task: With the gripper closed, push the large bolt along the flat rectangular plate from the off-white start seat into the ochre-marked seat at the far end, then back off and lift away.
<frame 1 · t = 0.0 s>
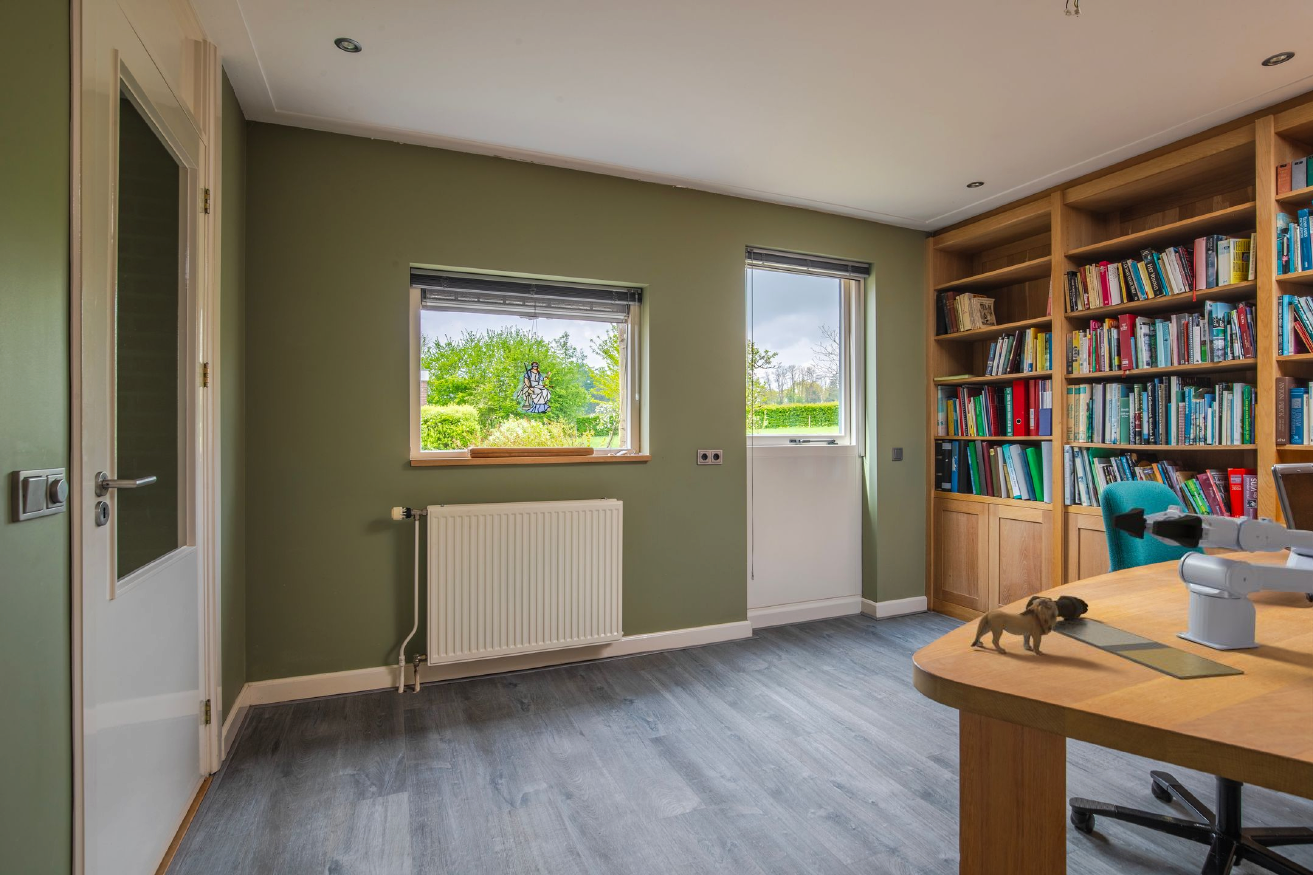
hand: (1132, 524, 113), 22 cm above the table, tool horizontal, fingers open, 7 cm apart
lion figurine: (1014, 650, 112), on the table
flat rectangular plate: (1128, 645, 115), on the table
bolt: (1061, 621, 129), on the table, touching flat rectangular plate
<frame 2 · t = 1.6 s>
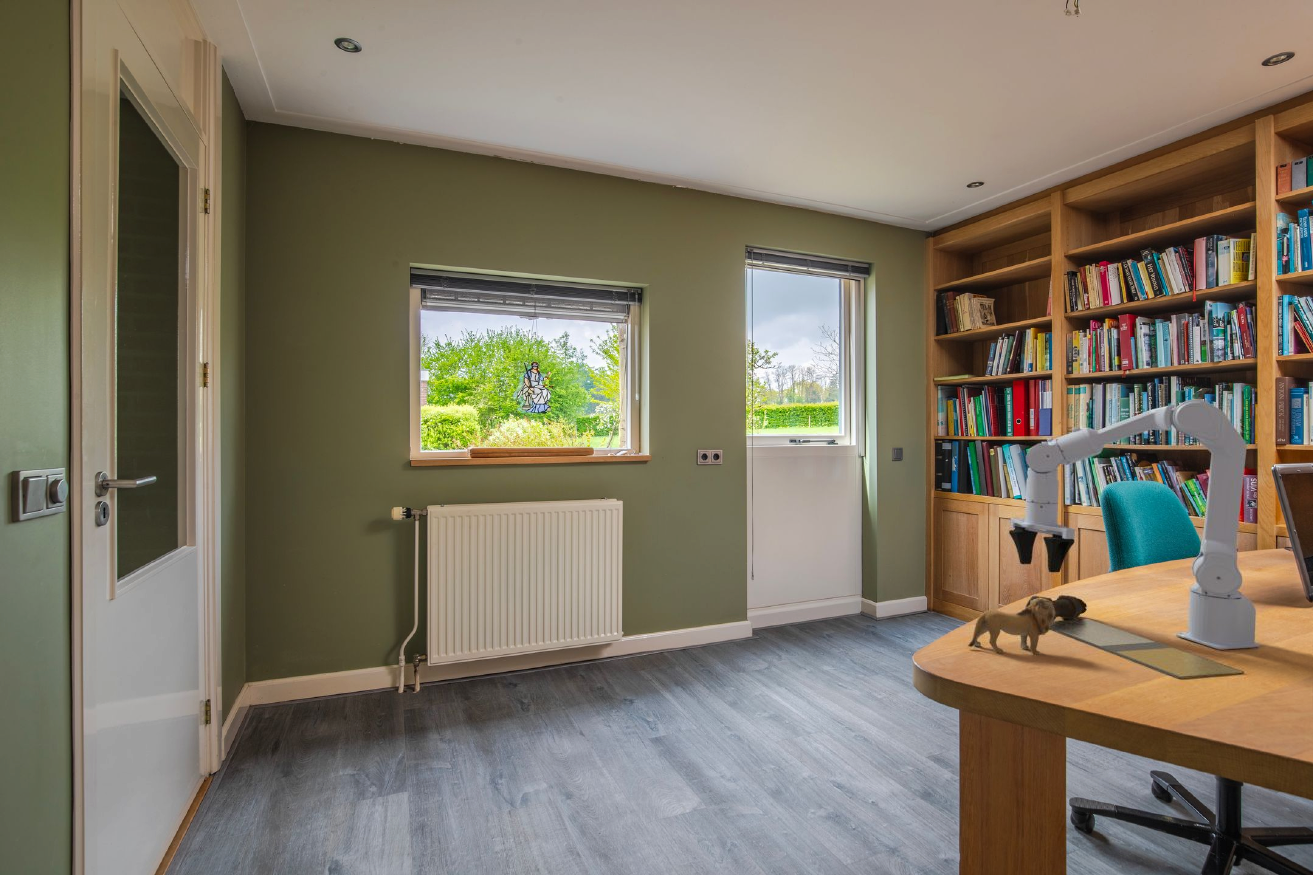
hand: (1039, 567, 134), 9 cm above the table, tool pointing down, fingers open, 7 cm apart
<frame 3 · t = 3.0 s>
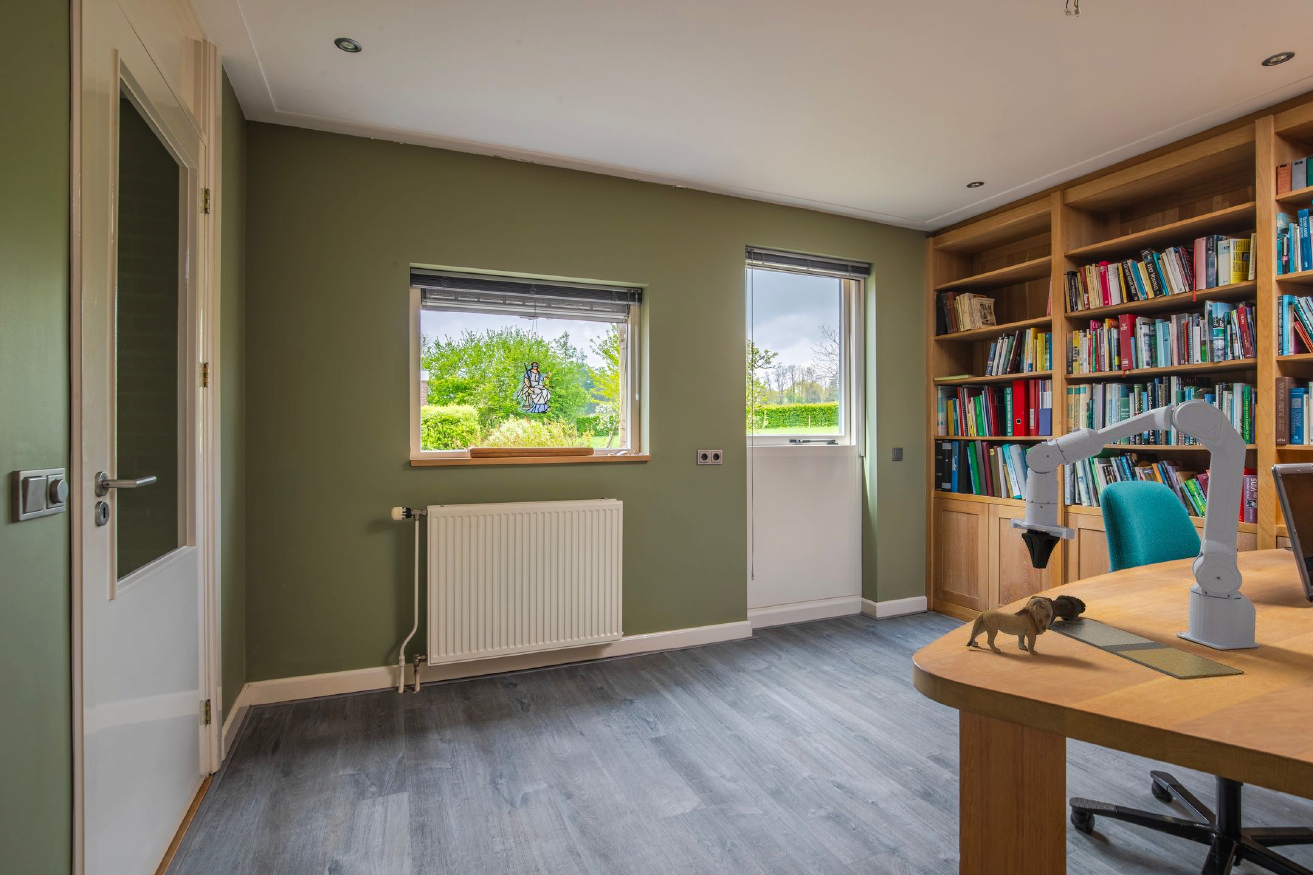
hand: (1039, 567, 134), 9 cm above the table, tool pointing down, fingers closed
bolt: (1060, 621, 129), on the table, touching flat rectangular plate
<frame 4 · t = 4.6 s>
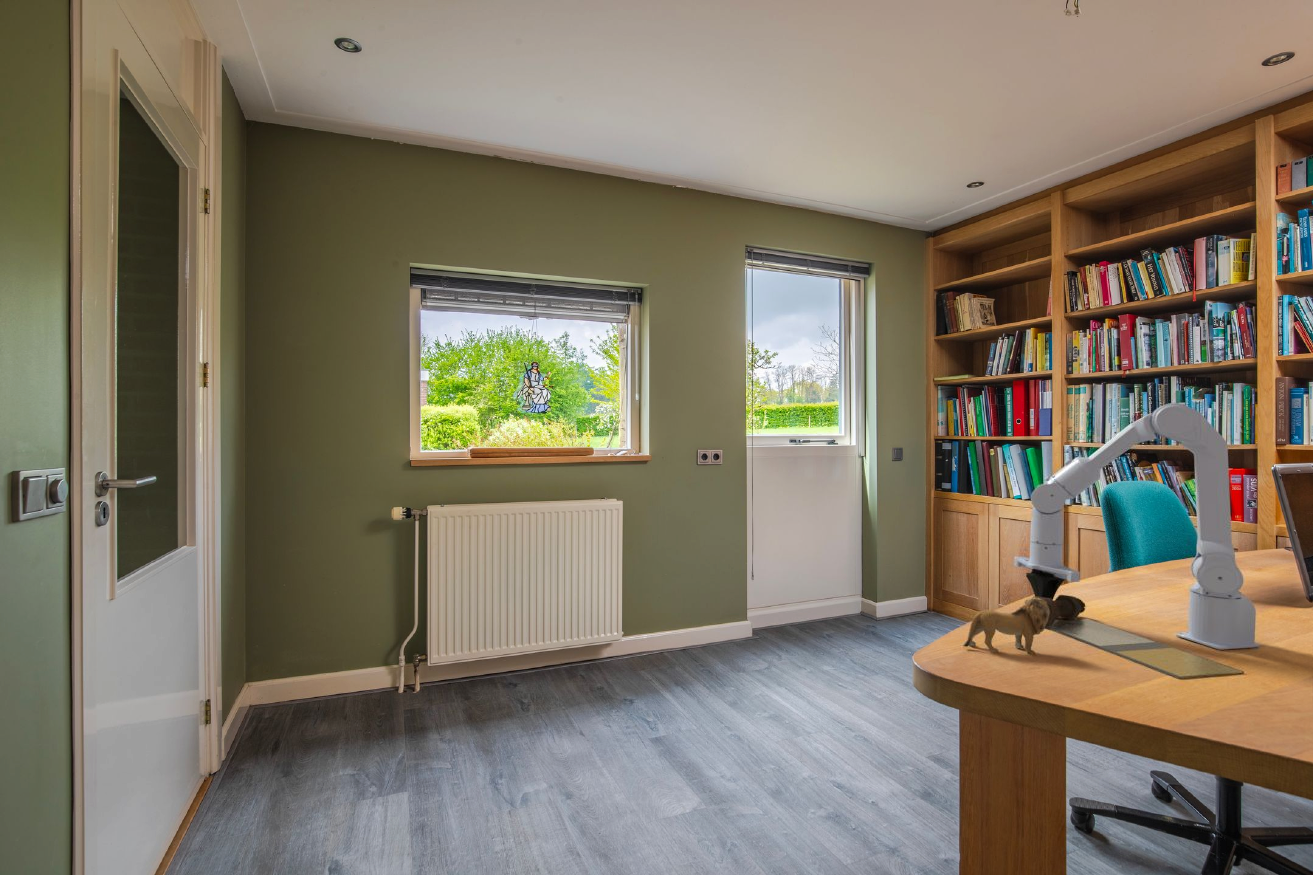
hand: (1043, 608, 133), 1 cm above the table, tool pointing down, fingers closed
bolt: (1060, 620, 129), on the table, touching gripper, flat rectangular plate
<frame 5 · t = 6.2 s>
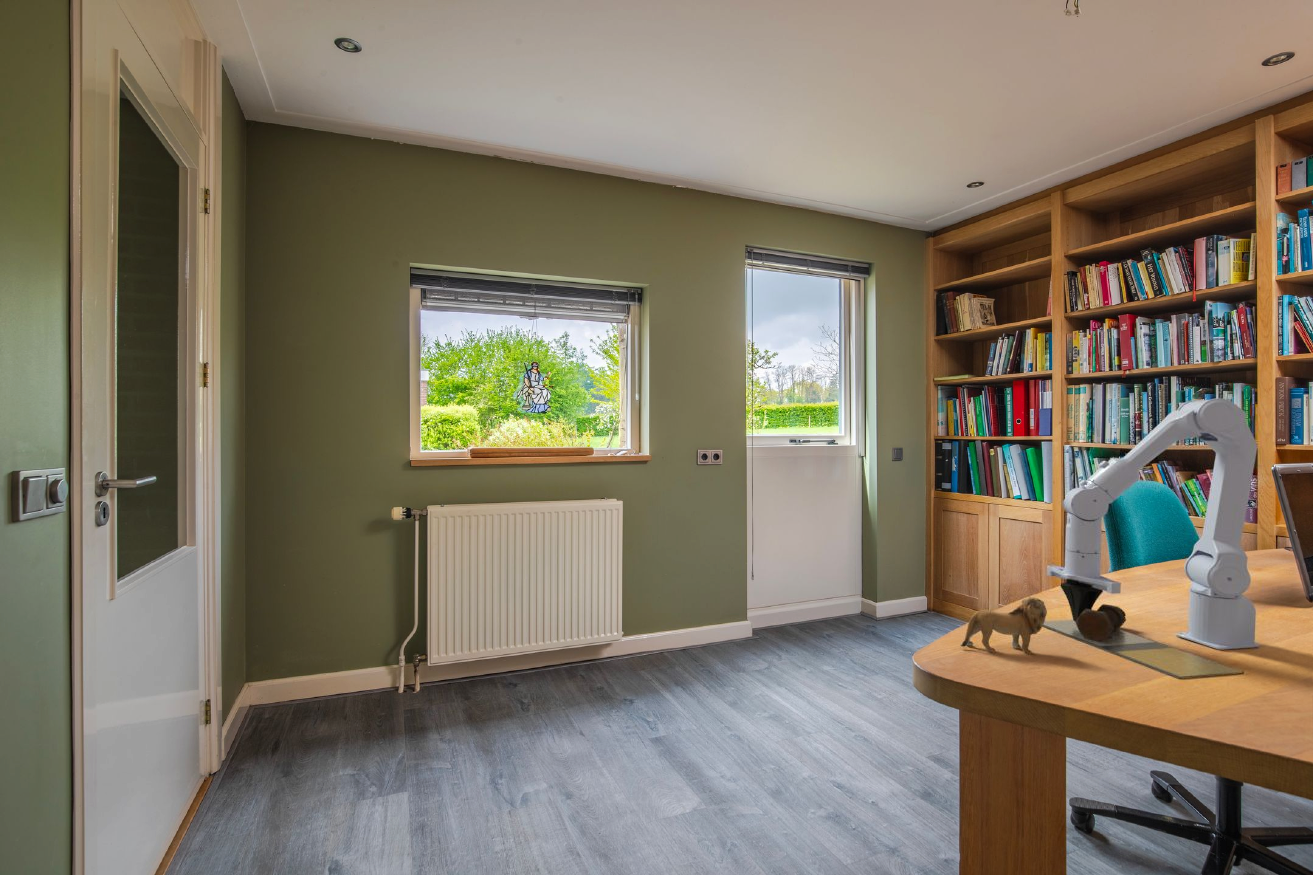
hand: (1080, 621, 125), 1 cm above the table, tool pointing down, fingers closed
bolt: (1105, 633, 122), resting on flat rectangular plate, touching gripper
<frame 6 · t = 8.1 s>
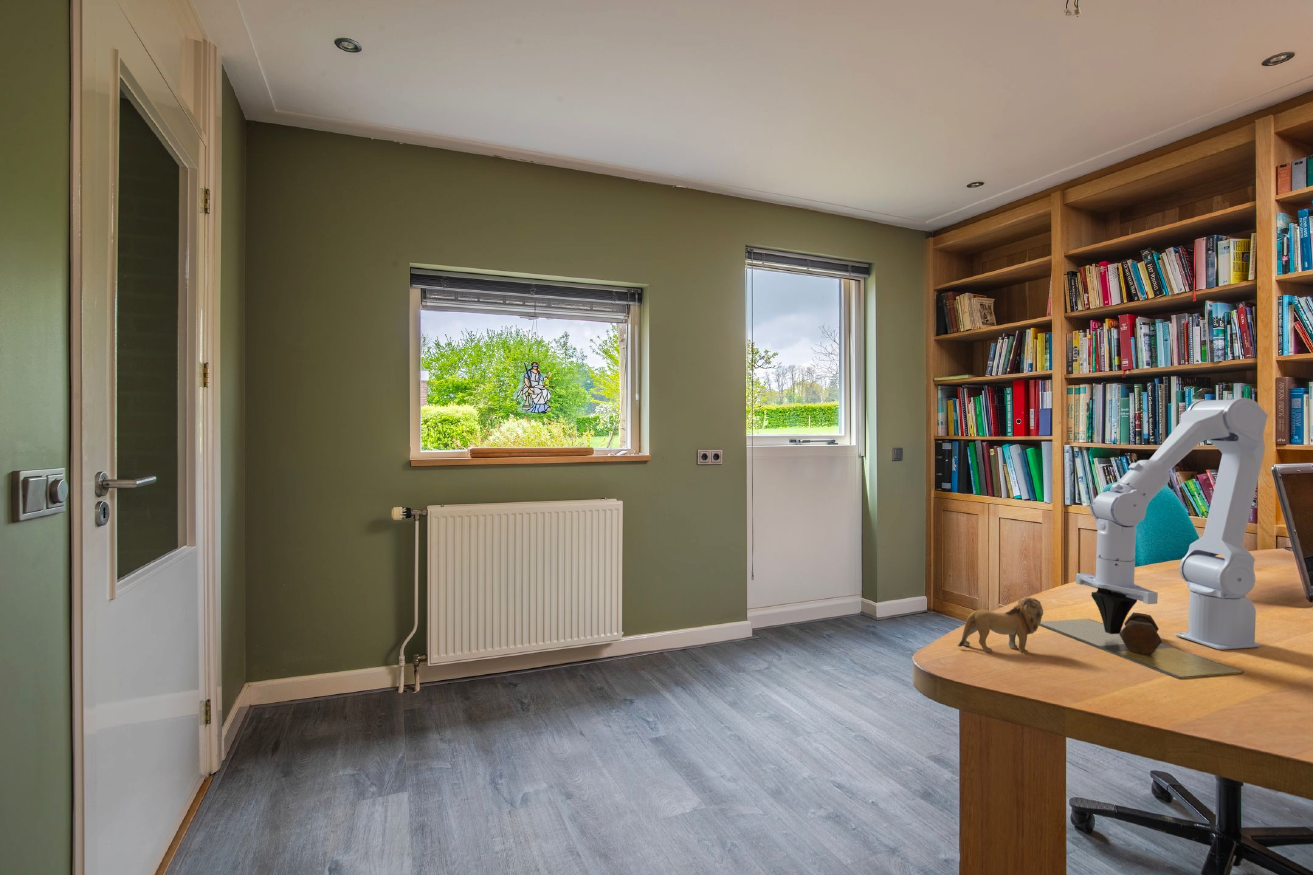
hand: (1112, 632, 118), 1 cm above the table, tool pointing down, fingers closed
bolt: (1141, 643, 116), resting on flat rectangular plate, touching gripper
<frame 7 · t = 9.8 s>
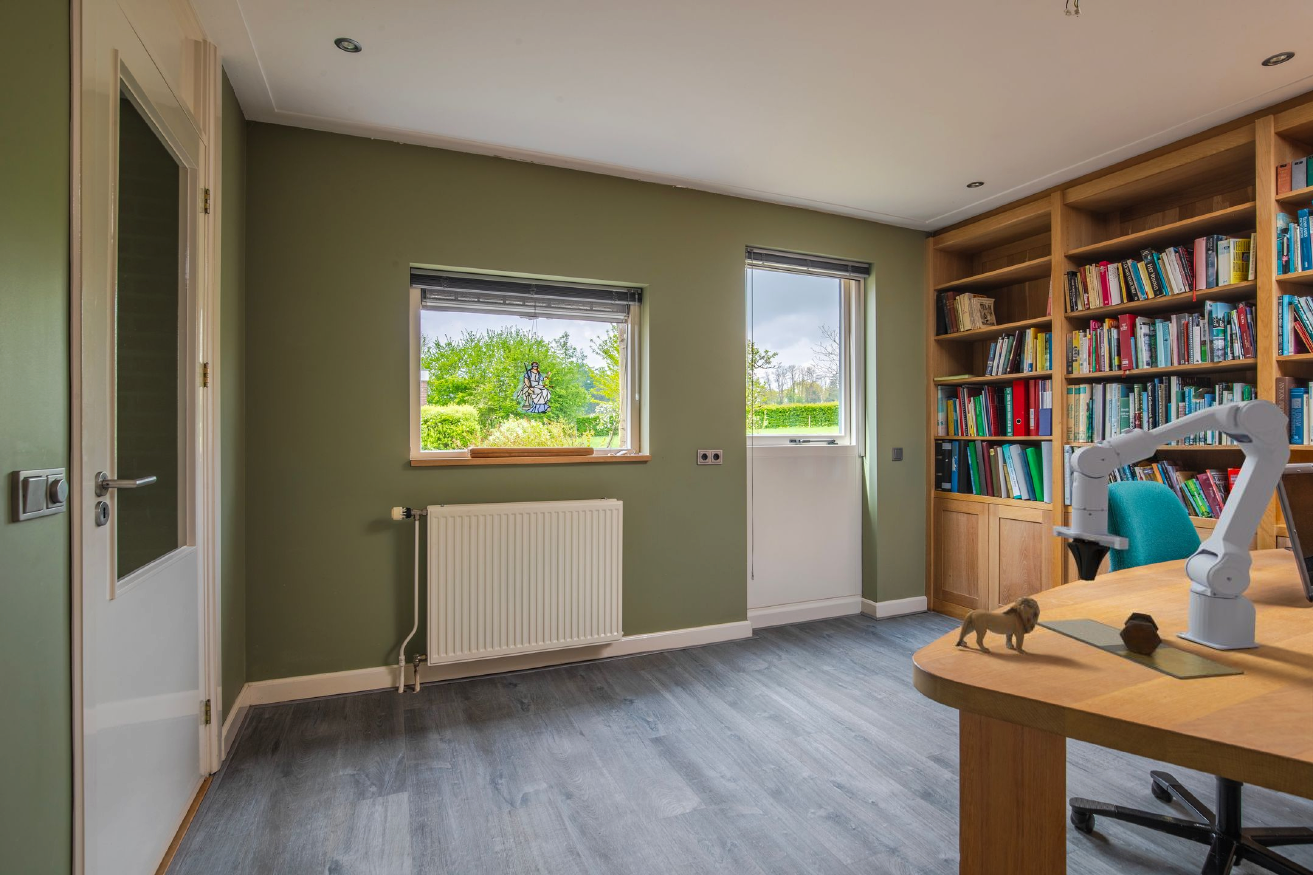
hand: (1087, 579, 124), 9 cm above the table, tool pointing down, fingers closed
bolt: (1141, 643, 116), resting on flat rectangular plate
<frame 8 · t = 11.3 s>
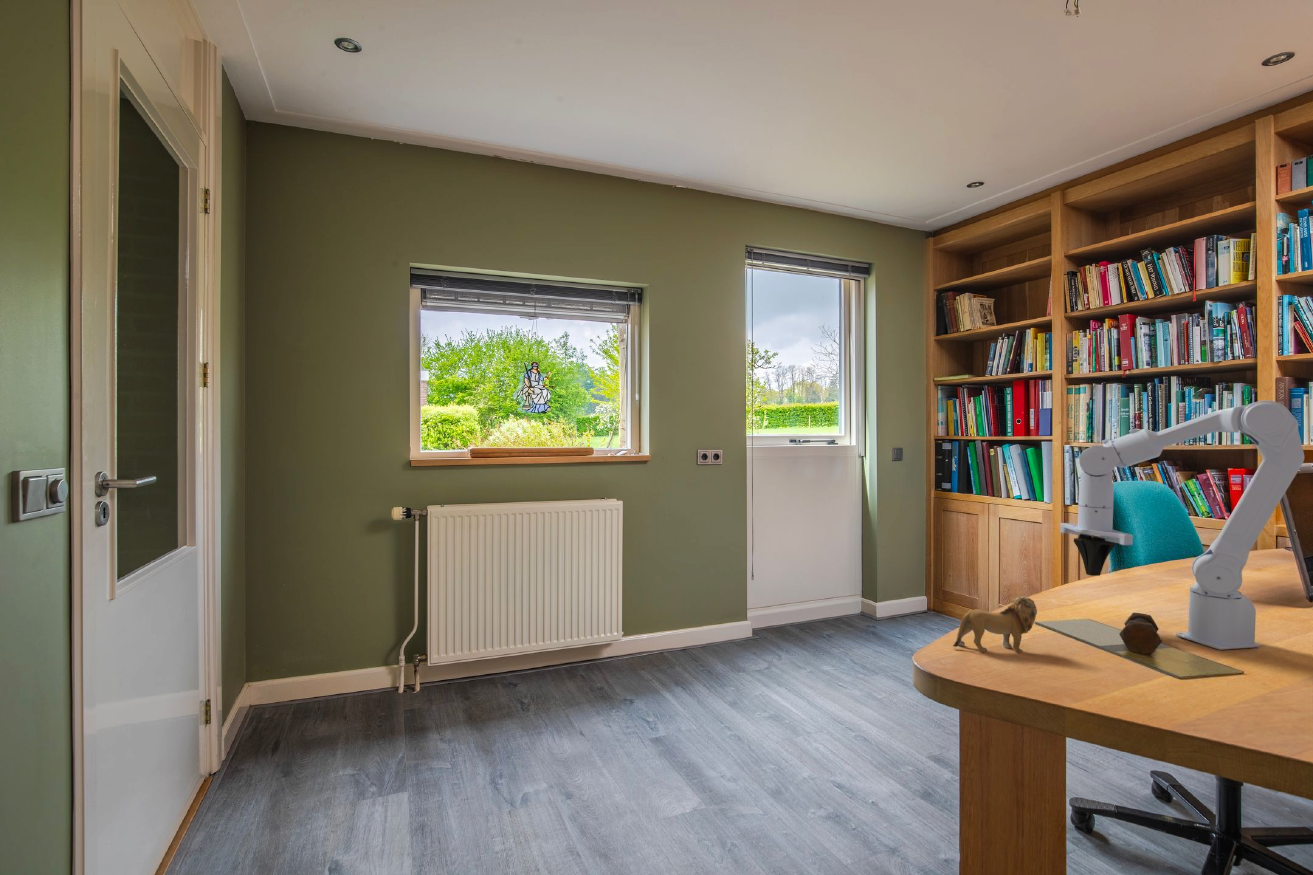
hand: (1093, 574, 129), 9 cm above the table, tool pointing down, fingers closed
at the end: bolt inside the target area (4.3 cm from its centre), resting on flat rectangular plate; bolt moved 14.1 cm from its start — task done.
